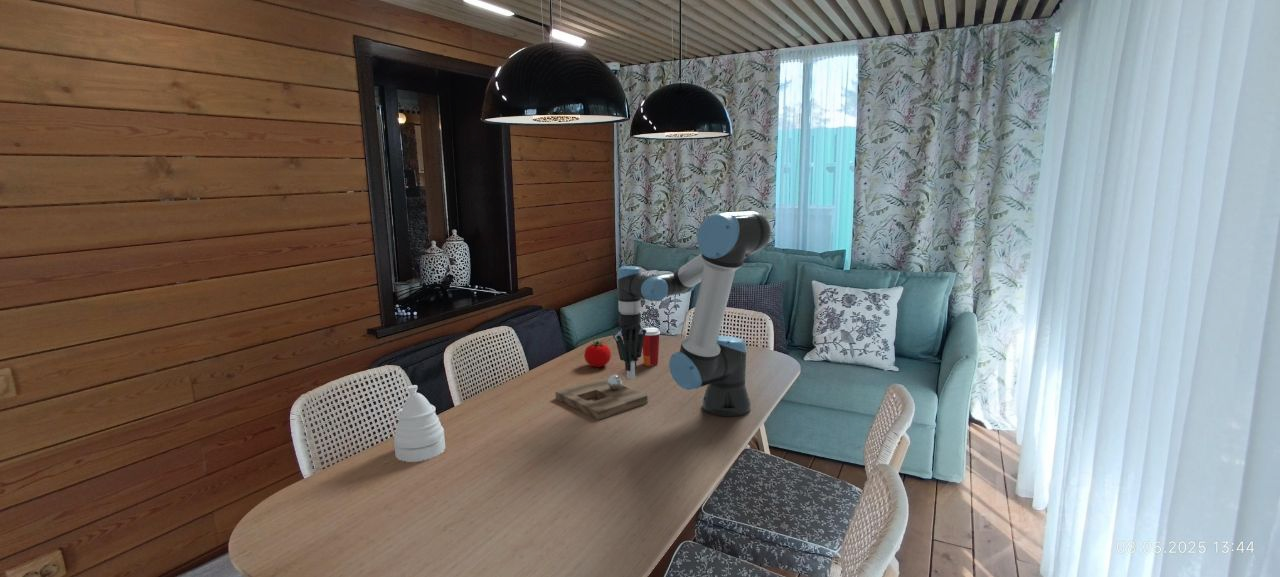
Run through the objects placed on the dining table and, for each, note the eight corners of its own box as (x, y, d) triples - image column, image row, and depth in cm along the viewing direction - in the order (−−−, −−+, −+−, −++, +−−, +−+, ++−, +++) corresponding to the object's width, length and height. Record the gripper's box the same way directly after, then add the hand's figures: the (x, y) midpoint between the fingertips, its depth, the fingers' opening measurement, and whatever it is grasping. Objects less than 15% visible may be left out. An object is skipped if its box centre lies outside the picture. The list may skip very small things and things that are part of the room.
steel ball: (625, 389, 198) (625, 375, 197) (613, 392, 195) (613, 378, 194) (616, 385, 202) (615, 371, 201) (604, 389, 199) (604, 374, 198)
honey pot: (388, 450, 162) (382, 388, 159) (434, 436, 170) (429, 377, 167) (404, 466, 152) (398, 401, 149) (452, 451, 160) (447, 389, 157)
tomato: (593, 360, 238) (592, 336, 236) (616, 364, 233) (615, 339, 231) (579, 368, 229) (578, 343, 227) (603, 371, 224) (602, 346, 222)
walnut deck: (647, 403, 192) (647, 395, 192) (598, 419, 180) (598, 412, 179) (603, 384, 210) (603, 377, 210) (555, 398, 198) (555, 391, 197)
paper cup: (661, 360, 236) (660, 327, 233) (659, 367, 229) (659, 332, 226) (641, 360, 237) (641, 327, 234) (639, 366, 229) (639, 332, 227)
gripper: (637, 307, 205) (638, 372, 210) (607, 313, 197) (609, 380, 201) (651, 310, 199) (652, 377, 204) (621, 317, 191) (622, 386, 196)
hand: (630, 378), depth 203 cm, fingers closed
